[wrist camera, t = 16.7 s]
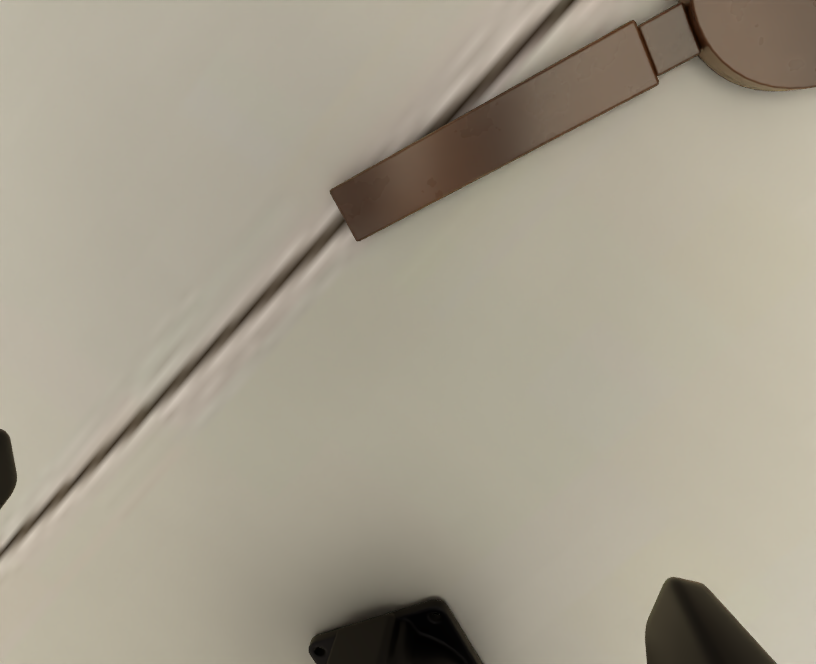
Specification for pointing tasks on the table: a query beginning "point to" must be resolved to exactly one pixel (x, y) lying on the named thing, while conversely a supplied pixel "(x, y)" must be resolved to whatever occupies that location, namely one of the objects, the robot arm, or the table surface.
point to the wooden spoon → (587, 98)
